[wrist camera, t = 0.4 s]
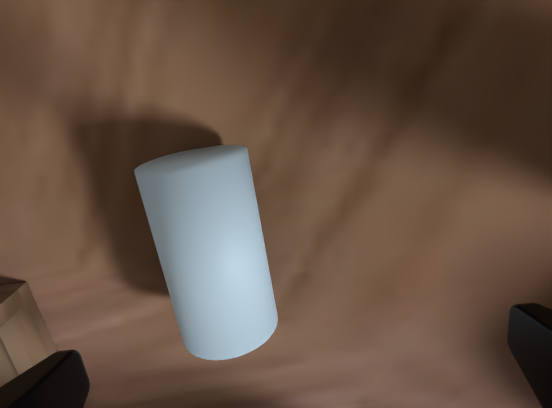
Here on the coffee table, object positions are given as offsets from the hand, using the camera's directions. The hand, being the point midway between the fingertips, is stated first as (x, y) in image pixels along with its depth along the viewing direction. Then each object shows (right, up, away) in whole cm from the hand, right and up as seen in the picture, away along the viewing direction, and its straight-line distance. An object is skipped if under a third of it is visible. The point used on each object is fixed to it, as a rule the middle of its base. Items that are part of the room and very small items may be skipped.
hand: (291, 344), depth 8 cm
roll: (-3, +2, +13) cm, 13 cm away
